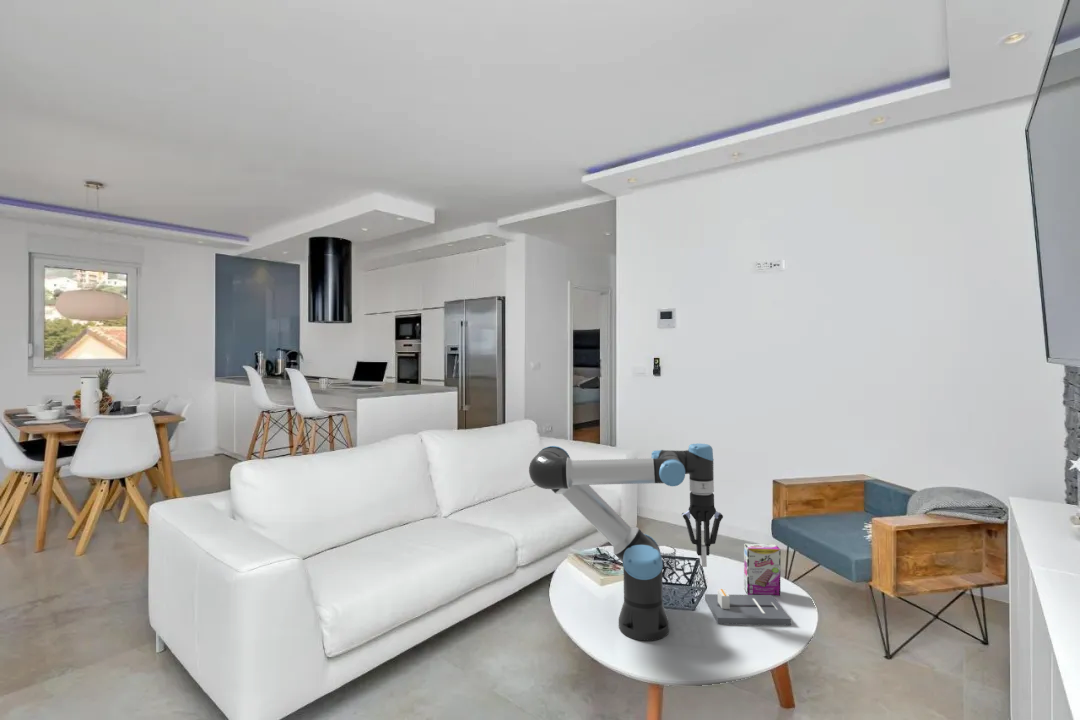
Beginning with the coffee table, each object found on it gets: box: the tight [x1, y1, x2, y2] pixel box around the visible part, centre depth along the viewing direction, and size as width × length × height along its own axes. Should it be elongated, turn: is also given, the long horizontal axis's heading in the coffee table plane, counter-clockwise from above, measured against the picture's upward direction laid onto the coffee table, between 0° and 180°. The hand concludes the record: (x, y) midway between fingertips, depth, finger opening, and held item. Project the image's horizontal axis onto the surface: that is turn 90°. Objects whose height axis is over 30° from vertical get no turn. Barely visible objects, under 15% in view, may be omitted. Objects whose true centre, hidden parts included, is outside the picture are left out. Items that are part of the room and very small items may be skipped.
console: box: [704, 593, 792, 626], centre depth 171 cm, size 22×16×2 cm
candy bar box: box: [743, 543, 781, 597], centre depth 184 cm, size 11×5×16 cm, turn 84°
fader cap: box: [717, 588, 730, 609], centre depth 171 cm, size 2×5×4 cm, turn 176°
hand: (703, 565), depth 171 cm, fingers closed
